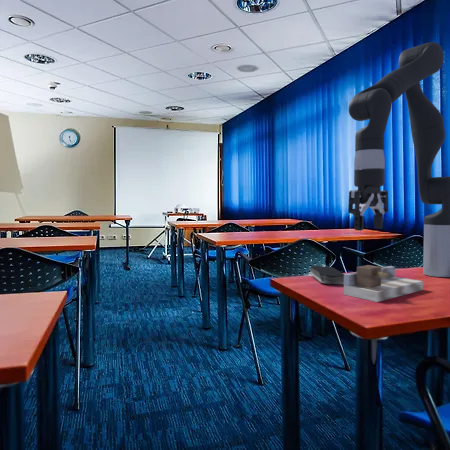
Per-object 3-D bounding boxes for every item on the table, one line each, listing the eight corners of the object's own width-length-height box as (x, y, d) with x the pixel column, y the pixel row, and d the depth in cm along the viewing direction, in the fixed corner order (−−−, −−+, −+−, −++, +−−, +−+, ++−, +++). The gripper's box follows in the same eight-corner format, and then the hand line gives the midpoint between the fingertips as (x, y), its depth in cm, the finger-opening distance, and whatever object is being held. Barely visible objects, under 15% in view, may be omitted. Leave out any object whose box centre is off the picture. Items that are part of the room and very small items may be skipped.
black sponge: (308, 276, 127) (308, 265, 127) (333, 275, 127) (333, 265, 127) (320, 286, 111) (320, 274, 111) (348, 286, 111) (348, 274, 111)
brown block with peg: (367, 282, 102) (367, 265, 101) (393, 287, 95) (393, 268, 95) (356, 285, 99) (356, 266, 99) (382, 290, 93) (382, 270, 92)
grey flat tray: (389, 283, 112) (389, 266, 111) (422, 289, 103) (423, 270, 103) (343, 294, 99) (343, 274, 99) (377, 302, 91) (377, 280, 91)
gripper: (372, 170, 104) (372, 227, 105) (340, 168, 96) (340, 230, 97) (397, 168, 98) (397, 228, 99) (365, 165, 90) (365, 231, 91)
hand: (368, 229), depth 98 cm, fingers open, 8 cm apart
